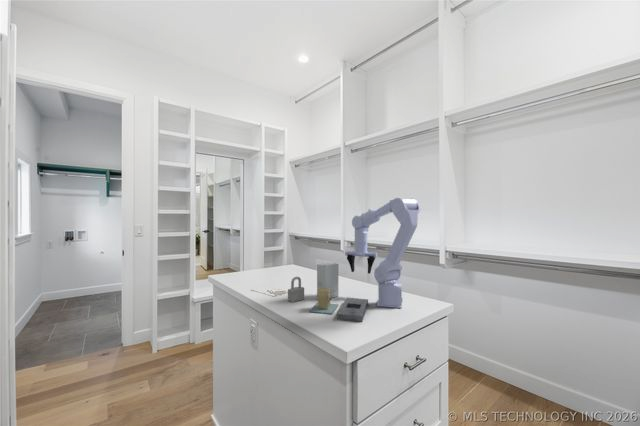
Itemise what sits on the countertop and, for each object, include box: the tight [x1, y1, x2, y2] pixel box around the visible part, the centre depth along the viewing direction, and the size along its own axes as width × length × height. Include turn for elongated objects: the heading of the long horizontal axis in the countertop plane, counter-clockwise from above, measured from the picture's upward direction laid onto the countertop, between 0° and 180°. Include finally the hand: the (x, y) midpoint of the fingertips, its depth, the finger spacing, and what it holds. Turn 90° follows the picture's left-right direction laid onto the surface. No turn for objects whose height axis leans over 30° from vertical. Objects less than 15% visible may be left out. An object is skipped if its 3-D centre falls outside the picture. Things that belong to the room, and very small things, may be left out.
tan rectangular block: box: [317, 288, 331, 310], centre depth 111 cm, size 4×4×7 cm
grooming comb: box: [267, 290, 288, 297], centre depth 136 cm, size 18×10×1 cm, turn 50°
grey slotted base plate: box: [336, 297, 369, 323], centre depth 108 cm, size 9×20×2 cm, turn 165°
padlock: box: [287, 276, 305, 303], centre depth 122 cm, size 7×4×10 cm, turn 137°
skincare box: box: [316, 261, 339, 299], centre depth 127 cm, size 8×6×15 cm
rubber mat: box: [308, 302, 339, 315], centre depth 111 cm, size 9×11×1 cm
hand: (361, 272), depth 129 cm, fingers open, 7 cm apart
